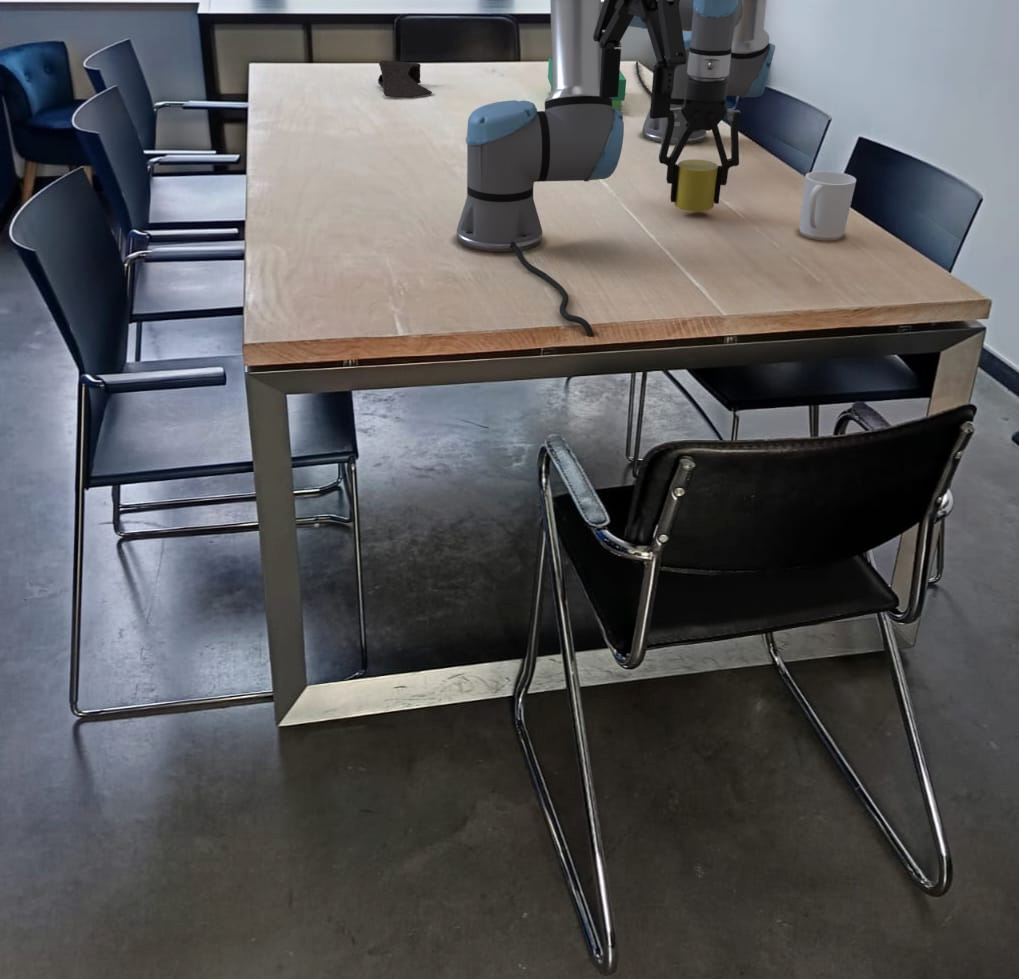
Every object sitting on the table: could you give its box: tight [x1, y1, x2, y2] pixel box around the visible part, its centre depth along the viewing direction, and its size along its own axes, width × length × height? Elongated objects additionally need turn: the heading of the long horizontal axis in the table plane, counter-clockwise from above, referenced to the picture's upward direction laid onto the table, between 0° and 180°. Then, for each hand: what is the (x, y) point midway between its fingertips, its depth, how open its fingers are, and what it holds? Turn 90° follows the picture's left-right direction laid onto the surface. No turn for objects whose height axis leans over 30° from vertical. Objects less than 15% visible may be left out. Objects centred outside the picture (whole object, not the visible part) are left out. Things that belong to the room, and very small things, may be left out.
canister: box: [673, 158, 719, 212], centre depth 209 cm, size 8×8×8 cm
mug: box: [798, 170, 857, 241], centre depth 199 cm, size 11×9×10 cm
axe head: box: [377, 59, 433, 99], centre depth 299 cm, size 18×8×15 cm
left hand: (633, 107), depth 154 cm, fingers open, 13 cm apart
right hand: (694, 200), depth 211 cm, fingers closed on canister, 8 cm apart
